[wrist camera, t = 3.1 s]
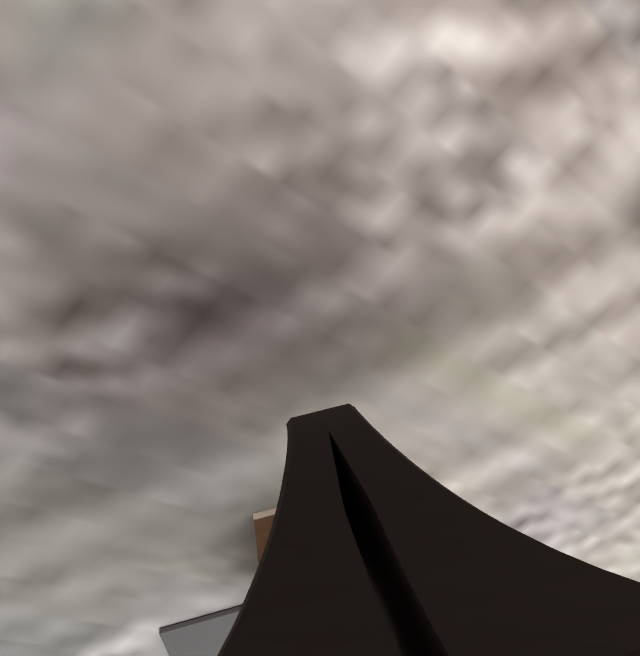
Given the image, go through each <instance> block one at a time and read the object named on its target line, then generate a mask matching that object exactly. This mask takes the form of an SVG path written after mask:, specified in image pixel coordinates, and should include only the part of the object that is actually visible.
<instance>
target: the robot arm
mask: <svg viewBox="0 0 640 656" xmlns="http://www.w3.org/2000/svg"><path fill="white" fill-rule="evenodd" d="M287 432H288V443H287V455H286V463H285V469H284V475H283V481H282V486H281V491H280V496H279V500H278V504H277V508H276V512H275V515H274V519H273V523H272V527H271V530H270V533H269V537H268V540H267V543H266V546H265V549H264V552H263V555H262V557H261V560H260V563H259V566H258V568H257V571H256V574H255V576H254V579H253V581H252V583H251V586H250V588H249V591H248V593H247V595H246V598H245V600H244V603H243V605H242V607H241V609H240V611H239V614H238V616H237V618H236V620H235V622H234V624H233V626H232V628H231V630H230V632H229V634H228V636H227V638H226V640H225V642H224V644H223V646H222V647H221V649H220V651H219V653H218V655H217V656H640V582H637V581H634V580H632V579H629V578H626V577H623V576H620V575H617V574H614V573H612V572H609V571H606V570H603V569H601V568H598V567H596V566H593V565H591V564H588V563H586V562H584V561H581V560H579V559H576V558H574V557H572V556H569V555H567V554H565V553H562V552H560V551H558V550H555V549H553V548H551V547H549V546H547V545H545V544H543V543H541V542H539V541H537V540H535V539H533V538H531V537H529V536H527V535H525V534H523V533H521V532H519V531H517V530H515V529H513V528H511V527H509V526H507V525H505V524H503V523H502V522H500V521H498V520H496V519H495V518H493V517H491V516H489V515H488V514H486V513H484V512H482V511H481V510H479V509H478V508H476V507H474V506H473V505H471V504H470V503H468V502H466V501H465V500H463V499H462V498H460V497H459V496H457V495H456V494H454V493H453V492H451V491H450V490H449V489H447V488H446V487H444V486H443V485H441V484H440V483H439V482H437V481H436V480H435V479H433V478H432V477H431V476H429V475H428V474H427V473H425V472H424V471H423V470H421V469H420V468H419V467H418V466H416V465H415V464H414V463H413V462H411V461H410V460H409V459H408V458H407V457H406V456H404V455H403V454H402V453H401V452H400V451H399V450H397V449H396V448H395V447H394V446H393V445H392V444H390V443H389V442H388V441H387V440H386V439H385V438H384V437H383V436H382V435H381V434H380V433H379V432H378V431H377V430H376V429H375V428H373V427H372V426H371V425H370V423H369V422H368V421H367V420H366V419H365V418H364V417H363V416H362V415H361V414H360V413H359V412H358V411H357V409H356V408H355V407H353V406H352V405H350V404H345V405H341V406H337V407H333V408H329V409H325V410H321V411H317V412H313V413H309V414H305V415H301V416H297V417H293V418H291V419H290V420H289V421H288V423H287Z"/></svg>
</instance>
